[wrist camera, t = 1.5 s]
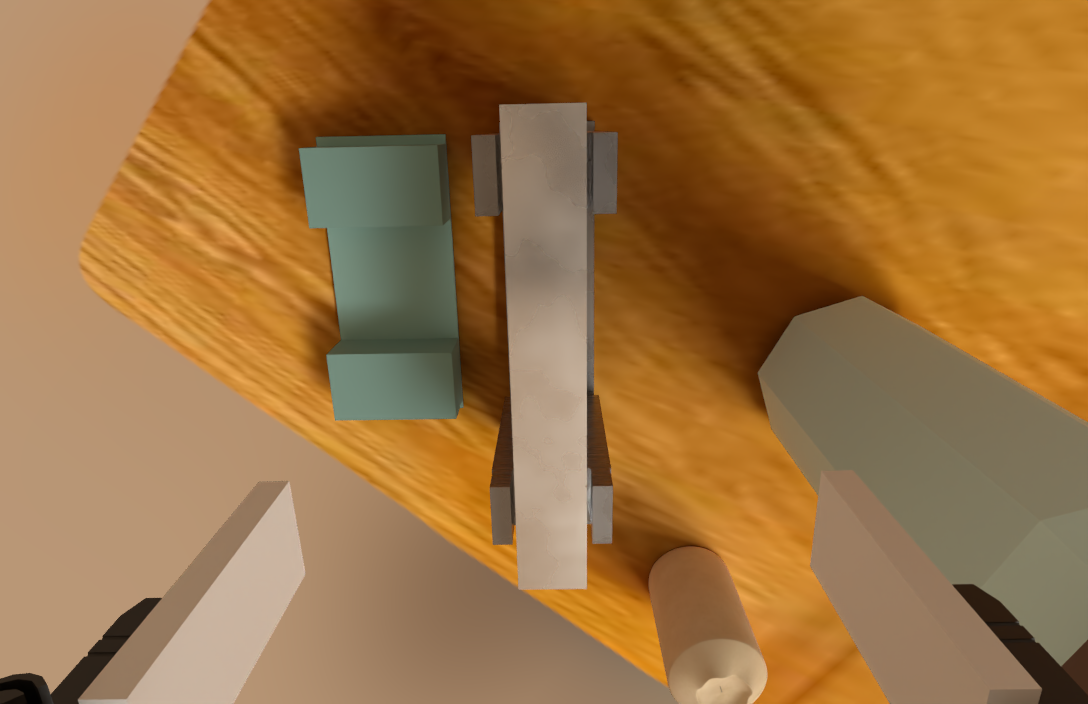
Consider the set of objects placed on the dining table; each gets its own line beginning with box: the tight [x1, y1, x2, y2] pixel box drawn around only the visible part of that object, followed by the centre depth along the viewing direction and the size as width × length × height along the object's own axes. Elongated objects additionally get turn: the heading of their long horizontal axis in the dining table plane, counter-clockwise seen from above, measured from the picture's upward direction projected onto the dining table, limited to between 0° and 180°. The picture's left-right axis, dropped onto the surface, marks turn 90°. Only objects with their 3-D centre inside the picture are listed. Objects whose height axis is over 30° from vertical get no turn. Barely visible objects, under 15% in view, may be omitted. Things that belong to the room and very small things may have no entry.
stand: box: [471, 121, 618, 545], centre depth 33 cm, size 19×6×12 cm, turn 1°
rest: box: [299, 134, 463, 420], centre depth 37 cm, size 16×7×3 cm, turn 1°
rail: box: [499, 103, 587, 589], centre depth 28 cm, size 20×3×4 cm, turn 1°
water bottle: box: [758, 296, 1088, 695], centre depth 28 cm, size 10×10×25 cm
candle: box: [649, 546, 767, 704], centre depth 40 cm, size 6×6×10 cm
